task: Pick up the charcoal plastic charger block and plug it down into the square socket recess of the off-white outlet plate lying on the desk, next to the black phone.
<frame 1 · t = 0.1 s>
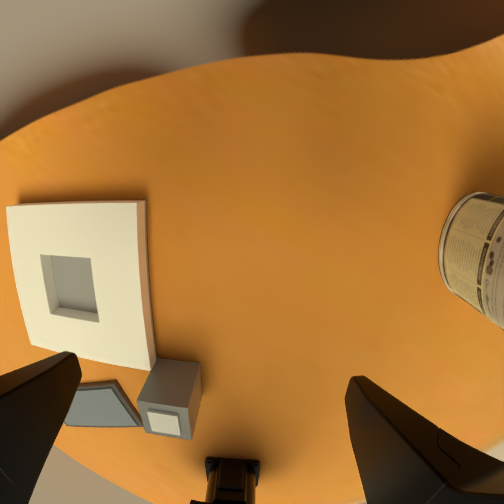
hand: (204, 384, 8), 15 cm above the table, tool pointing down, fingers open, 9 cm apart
charger block: (180, 377, 26), on the table
coffee can: (475, 245, 22), on the table
phone: (90, 402, 28), on the table
outlet plate: (79, 280, 23), on the table
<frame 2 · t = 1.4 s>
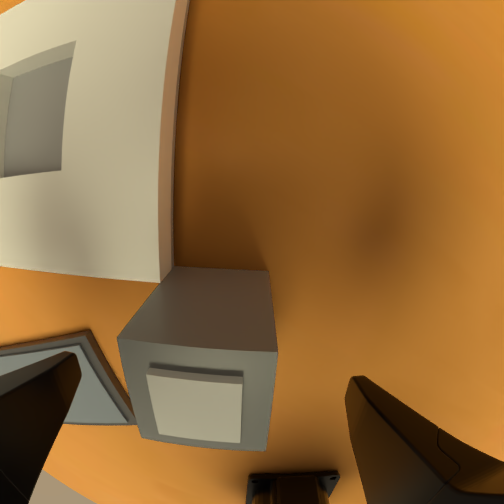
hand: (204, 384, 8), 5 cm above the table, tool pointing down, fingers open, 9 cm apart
charger block: (220, 311, 13), on the table
phone: (50, 379, 15), on the table
outlet plate: (45, 117, 11), on the table
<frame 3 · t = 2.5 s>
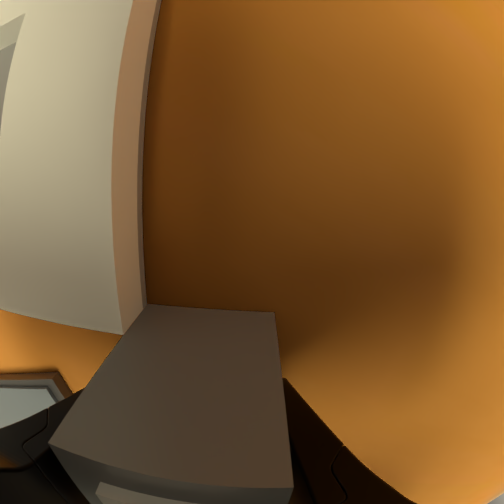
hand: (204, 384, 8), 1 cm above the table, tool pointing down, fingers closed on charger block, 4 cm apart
charger block: (210, 361, 10), on the table, touching gripper
phone: (25, 412, 12), on the table
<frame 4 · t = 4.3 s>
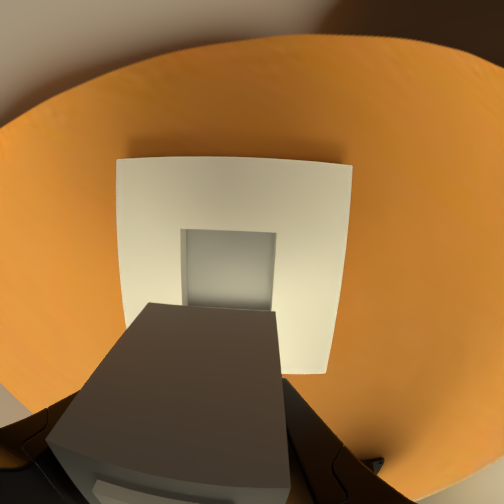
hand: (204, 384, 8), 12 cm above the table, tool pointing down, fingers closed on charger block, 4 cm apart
charger block: (210, 360, 10), point 11 cm above the table, touching gripper
outlet plate: (229, 267, 20), on the table
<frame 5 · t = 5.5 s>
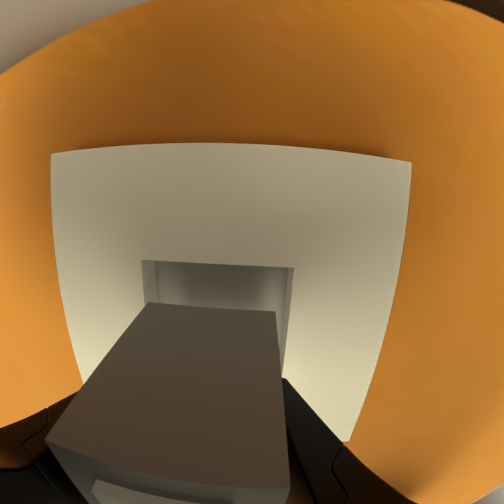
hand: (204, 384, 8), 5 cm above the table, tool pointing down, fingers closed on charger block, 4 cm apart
charger block: (210, 360, 10), point 4 cm above the table, touching gripper
outlet plate: (220, 310, 13), on the table
when the fingers open (3 cm above the table, at t = 6.3 s): charger block stays where it is, resting on outlet plate.
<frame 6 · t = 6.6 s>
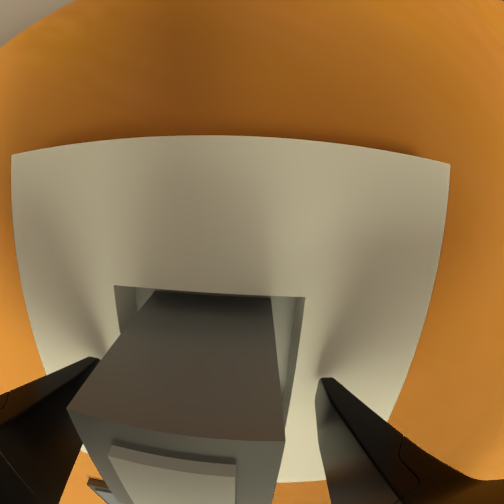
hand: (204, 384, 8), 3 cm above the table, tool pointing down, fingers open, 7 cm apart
charger block: (211, 345, 10), resting on outlet plate
phone: (182, 502, 16), on the table
outlet plate: (213, 340, 11), on the table
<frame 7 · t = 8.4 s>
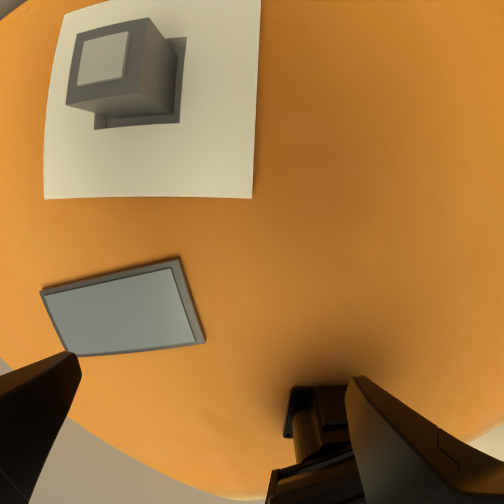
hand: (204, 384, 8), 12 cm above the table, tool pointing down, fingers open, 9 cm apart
charger block: (145, 87, 16), resting on outlet plate
phone: (118, 310, 21), on the table
outlet plate: (148, 88, 16), on the table
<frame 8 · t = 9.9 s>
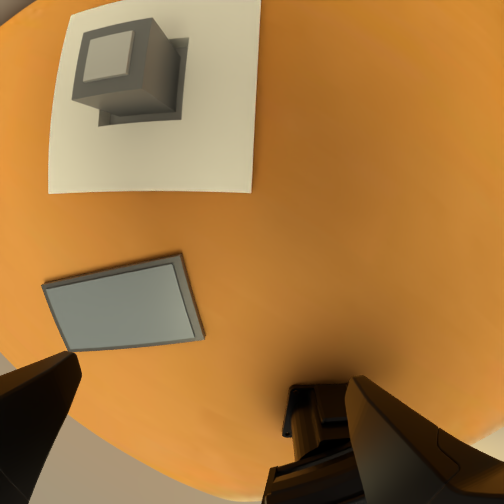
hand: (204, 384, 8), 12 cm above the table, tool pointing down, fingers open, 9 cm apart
charger block: (149, 86, 17), resting on outlet plate
phone: (118, 306, 22), on the table
outlet plate: (151, 87, 17), on the table
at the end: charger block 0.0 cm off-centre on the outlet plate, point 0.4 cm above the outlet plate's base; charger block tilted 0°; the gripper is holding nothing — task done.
